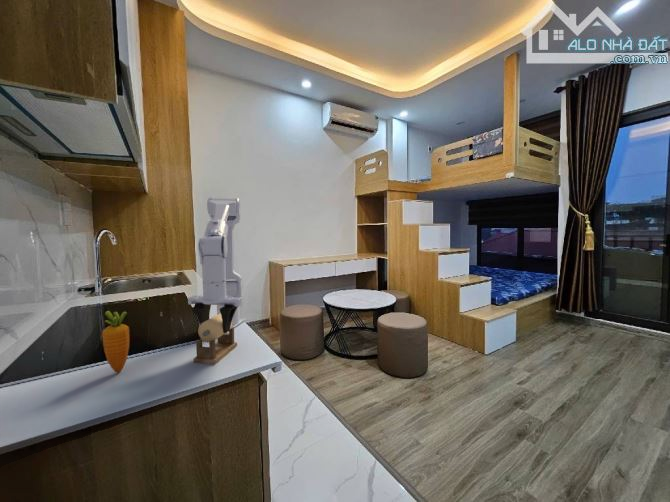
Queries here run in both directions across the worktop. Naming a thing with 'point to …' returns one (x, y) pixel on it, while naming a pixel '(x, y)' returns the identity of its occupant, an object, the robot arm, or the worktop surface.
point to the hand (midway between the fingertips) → (216, 331)
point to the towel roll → (211, 328)
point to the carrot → (116, 341)
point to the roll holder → (215, 348)
